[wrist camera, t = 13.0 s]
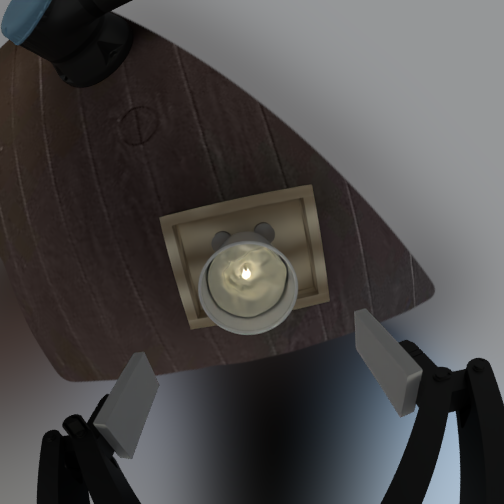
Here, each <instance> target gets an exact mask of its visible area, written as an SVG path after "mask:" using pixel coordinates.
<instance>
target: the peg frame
mask: <svg viewBox="0 0 504 504" xmlns="http://www.w3.org/2000/svg"><path fill="white" fill-rule="evenodd" d="M159 219H160V223H161V227H162V231H163V235H164V239H165V243H166V247H167V251H168V254H169V258H170V262H171V265H172V269H173V273H174V276H175V280H176V283H177V286H178V290H179V293H180V296H181V300H182V303H183V306H184V309H185V312H186V315H187V319H188V322H189V325H190V328H191V329H196V328H202V327H208V326H214V325H217V324H215V323H214V322H213V321H212V320H211V319H210V318H209V317H208V315H207V314H206V313H205V311H204V309H203V307H202V305H201V302H200V299H199V294H198V282H199V277H200V273H201V271H202V269H203V267H204V265H205V263H206V262H207V260H208V259H209V258H210V257H211V256H212V255H213V254H214V253H215V251H216V250H217V249H218V248H219V246H220V245H221V244H222V243H223V242H224V241H225V240H226V239H227V238H228V237H230V236H231V235H233V234H235V233H238V232H243V231H251V232H256V233H258V234H261V235H263V236H264V237H266V238H267V239H268V240H269V241H270V242H271V243H272V244H273V245H274V246H275V247H276V248H277V249H278V250H279V251H280V252H281V253H283V254H284V255H285V256H286V257H287V259H288V260H289V261H290V263H291V264H292V266H293V268H294V270H295V273H296V276H297V280H298V295H297V299H296V302H295V305H294V307H293V309H292V310H295V309H299V308H303V307H308V306H312V305H316V304H320V303H324V302H328V301H330V300H329V291H328V283H327V275H326V268H325V261H324V254H323V247H322V240H321V234H320V228H319V222H318V216H317V210H316V204H315V199H314V194H313V188H312V185H303V186H297V187H292V188H286V189H281V190H276V191H271V192H266V193H261V194H256V195H251V196H246V197H241V198H237V199H232V200H228V201H223V202H219V203H214V204H210V205H206V206H201V207H197V208H193V209H189V210H185V211H181V212H177V213H173V214H169V215H165V216H163V217H160V218H159Z"/></svg>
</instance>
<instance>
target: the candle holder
mask: <svg viewBox="0 0 504 504" xmlns="http://www.w3.org/2000/svg"><path fill="white" fill-rule="evenodd" d="M198 294H199V299H200V302H201V305H202V307H203V309H204V311H205V313H206V314H207V315H208V317H209V318H210V319H211V320H212V321H213V322H214V323H215V324H217V325H218V326H220V327H221V328H223V329H225V330H227V331H230V332H232V333H236V334H242V335H253V334H259V333H263V332H266V331H269V330H271V329H273V328H275V327H276V326H278V325H279V324H280V323H282V322H283V321H284V320H285V319H286V318H287V317H288V315H289V314H290V312H291V311H292V309H293V307H294V305H295V302H296V299H297V295H298V280H297V276H296V273H295V270H294V268H293V266H292V264H291V263H290V261H289V260H288V259H287V257H286V256H285V255H284V254H283V253H281V252H280V251H279V250H278V249H277V248H276V247H275V246H274V245H273V244H272V243H271V242H270V241H269V240H268V239H267V238H266V237H264V236H263V235H261V234H258V233H256V232H251V231H243V232H238V233H235V234H233V235H231V236H230V237H228V238H227V239H226V240H225V241H224V242H223V243H222V244H221V245H220V246H219V248H218V249H217V250H216V251H215V253H214V254H213V255H212V256H211V257H210V258H209V259H208V260H207V262H206V263H205V265H204V267H203V269H202V271H201V273H200V277H199V282H198Z"/></svg>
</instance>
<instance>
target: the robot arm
mask: <svg viewBox="0 0 504 504" xmlns="http://www.w3.org/2000/svg"><path fill="white" fill-rule="evenodd" d="M130 1H132V0H12V1H11V2H10V4H9V6H8V7H7V10H6V12H5V14H4V16H3V20H2V24H1V29H2V33H3V35H4V36H5V37H7V38H8V39H9V40H11V41H12V42H14V44H15V45H20V46H22V47H23V48H25V49H27V50H29V51H31V52H33V53H35V54H37V55H39V56H40V57H42V58H44V59H46V60H48V61H50V62H51V63H52V64H53V66H54V68H55V70H56V71H57V73H58V75H59V77H60V78H61V79H62V80H63V81H64V82H66V83H67V84H69V85H71V86H74V87H88V86H91V85H94V84H96V83H98V82H100V81H102V80H103V79H105V78H106V77H108V76H109V75H110V74H111V73H112V72H114V71H115V70H116V69H117V68H118V67H119V65H120V64H121V63H122V62H123V60H124V59H125V58H126V56H127V54H128V52H129V50H130V48H131V45H132V41H133V33H132V29H131V27H130V26H129V25H128V23H127V22H126V21H125V20H124V19H123V18H121V17H120V16H116V15H114V14H112V13H110V11H112V10H114V9H116V8H118V7H120V6H121V5H124V4H126V3H128V2H130ZM354 318H355V335H356V349H357V351H358V352H359V354H360V356H361V357H362V359H363V360H364V361H365V363H366V365H367V366H368V368H369V369H370V371H371V372H372V374H373V375H374V377H375V378H376V380H377V382H378V383H379V385H380V386H381V387H382V389H383V391H384V392H385V394H386V395H387V397H388V399H389V400H390V402H391V403H392V405H393V406H394V408H395V410H396V411H397V413H398V415H399V416H400V417H403V416H405V415H407V414H410V413H412V412H414V410H415V405H416V404H417V406H418V407H419V410H418V413H417V417H416V420H415V423H414V426H413V429H412V432H411V435H410V438H409V441H408V443H407V446H406V449H405V451H404V454H403V456H402V459H401V461H400V464H399V466H398V468H397V471H396V473H395V475H394V478H393V480H392V482H391V484H390V486H389V488H388V490H387V492H386V494H385V496H384V498H383V500H382V502H381V504H422V502H423V499H424V497H425V494H426V492H427V489H428V486H429V483H430V481H431V478H432V474H433V472H434V469H435V465H436V462H437V459H438V455H439V452H440V448H441V444H442V440H443V436H444V432H445V427H446V422H447V417H448V413H449V412H454V411H456V416H457V425H458V434H459V448H460V477H461V478H460V504H504V404H503V401H502V397H501V394H500V391H499V388H498V385H497V382H496V379H495V376H494V373H493V370H492V368H491V365H490V363H489V362H488V361H487V360H485V359H482V358H475V359H472V360H471V361H469V362H468V364H467V367H466V369H464V370H459V371H454V372H452V371H451V370H450V369H448V368H446V367H437V366H436V365H435V364H434V363H433V362H432V361H431V360H430V359H429V358H428V357H427V356H426V354H425V353H423V351H422V350H421V349H419V347H418V346H416V344H415V343H413V342H410V341H408V340H404V341H402V342H399V343H398V342H397V341H396V340H395V339H394V338H393V337H392V336H391V335H390V334H389V333H388V331H387V330H386V329H385V328H384V327H383V326H382V325H381V324H380V323H379V322H378V321H377V320H376V319H375V318H374V317H373V316H372V315H371V314H370V313H369V311H368V310H367V309H366V308H365V309H362V310H358V311H355V312H354ZM158 387H159V383H158V381H157V379H156V377H155V375H154V372H153V370H152V368H151V366H150V364H149V362H148V359H147V357H146V355H145V353H144V352H139V353H134V354H133V356H132V357H131V359H130V360H129V362H128V364H127V365H126V367H125V369H124V370H123V372H122V374H121V375H120V377H119V379H118V381H117V382H116V384H115V386H114V387H113V389H112V391H111V392H110V394H106V395H105V396H104V397H103V398H102V399H101V400H100V402H99V403H98V406H97V407H96V408H95V411H94V412H93V413H92V415H91V417H90V419H89V420H88V422H87V423H86V422H85V421H84V419H83V418H82V416H81V415H78V414H74V415H71V416H69V417H67V418H66V419H65V420H64V422H63V424H62V426H63V428H64V429H65V431H66V432H67V433H68V436H62V435H61V434H60V433H59V431H57V430H50V431H48V432H47V433H45V435H44V436H43V439H42V445H41V452H40V460H39V470H38V483H37V504H90V500H89V493H90V495H91V498H92V500H93V502H94V504H141V503H140V501H139V500H138V498H137V497H136V495H135V493H134V492H133V490H132V488H131V487H130V485H129V483H128V482H127V480H126V478H125V477H124V474H123V473H122V471H121V469H120V467H119V465H118V463H117V461H116V460H115V458H114V457H113V454H114V451H115V452H116V453H117V455H118V456H119V457H120V458H128V459H132V458H133V455H134V452H135V449H136V446H137V444H138V441H139V438H140V435H141V433H142V430H143V427H144V424H145V422H146V419H147V416H148V413H149V411H150V408H151V406H152V403H153V400H154V398H155V395H156V393H157V389H158Z"/></svg>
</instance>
